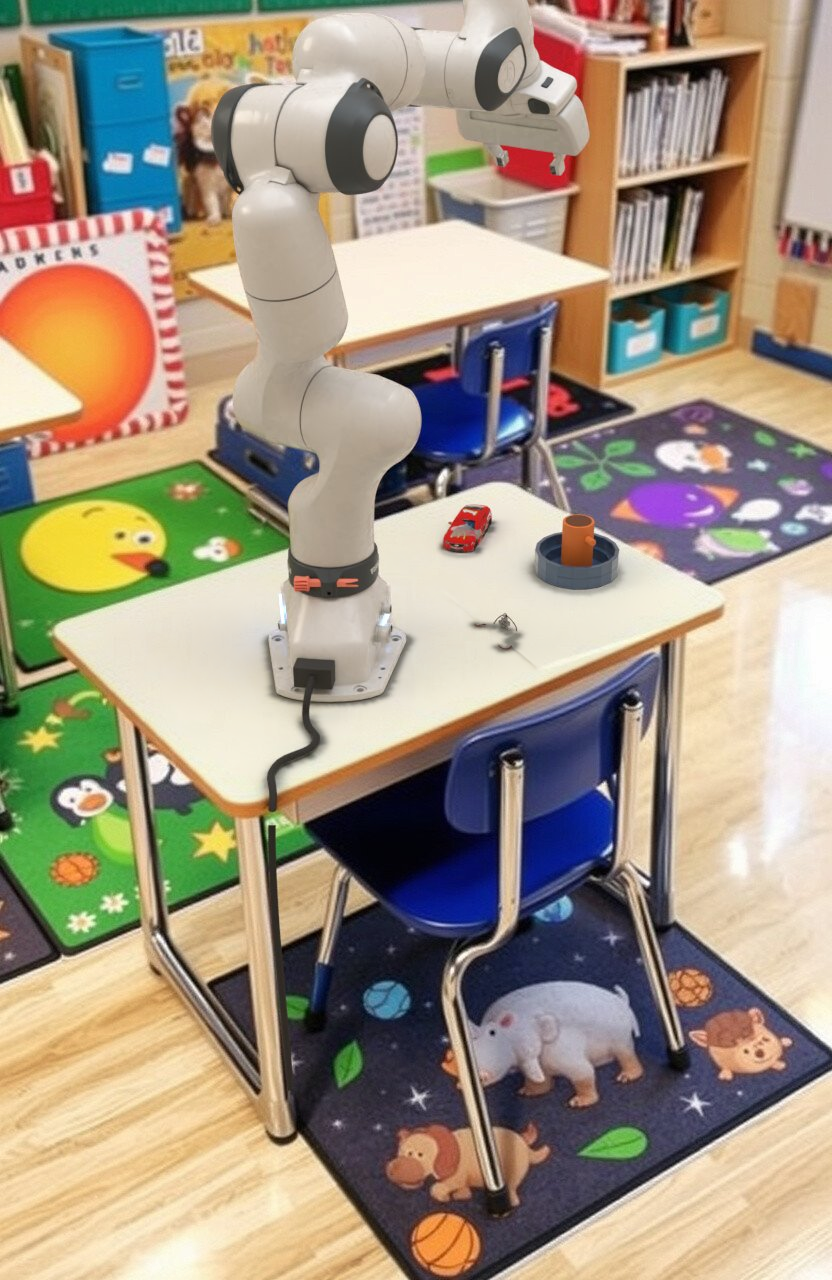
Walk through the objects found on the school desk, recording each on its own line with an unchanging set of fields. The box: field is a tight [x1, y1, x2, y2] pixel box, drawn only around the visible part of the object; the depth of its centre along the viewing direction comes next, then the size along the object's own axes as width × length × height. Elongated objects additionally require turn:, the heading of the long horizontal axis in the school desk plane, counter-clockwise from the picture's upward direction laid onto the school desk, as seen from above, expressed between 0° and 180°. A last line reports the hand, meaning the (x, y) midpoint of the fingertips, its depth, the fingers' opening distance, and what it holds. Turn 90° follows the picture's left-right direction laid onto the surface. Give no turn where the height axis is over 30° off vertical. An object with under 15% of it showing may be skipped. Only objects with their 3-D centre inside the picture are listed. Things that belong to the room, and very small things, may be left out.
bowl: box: [534, 531, 620, 590], centre depth 206 cm, size 12×12×4 cm
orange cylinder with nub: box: [561, 513, 596, 567], centre depth 204 cm, size 6×5×8 cm
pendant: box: [474, 612, 518, 650], centre depth 191 cm, size 8×4×3 cm, turn 35°
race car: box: [442, 503, 493, 553], centre depth 217 cm, size 13×5×4 cm, turn 161°
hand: (530, 168), depth 205 cm, fingers open, 8 cm apart
